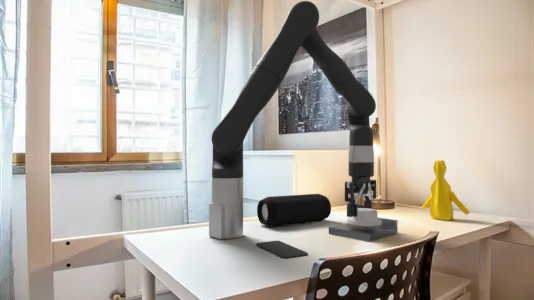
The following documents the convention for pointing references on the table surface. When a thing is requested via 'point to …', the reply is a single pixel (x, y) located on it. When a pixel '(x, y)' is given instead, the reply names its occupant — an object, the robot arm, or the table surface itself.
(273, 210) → the portable speaker
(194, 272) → the table surface
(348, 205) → the ammunition clip
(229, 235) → the robot arm
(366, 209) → the mechanical component
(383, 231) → the plate
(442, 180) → the figure statuette
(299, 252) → the phone
